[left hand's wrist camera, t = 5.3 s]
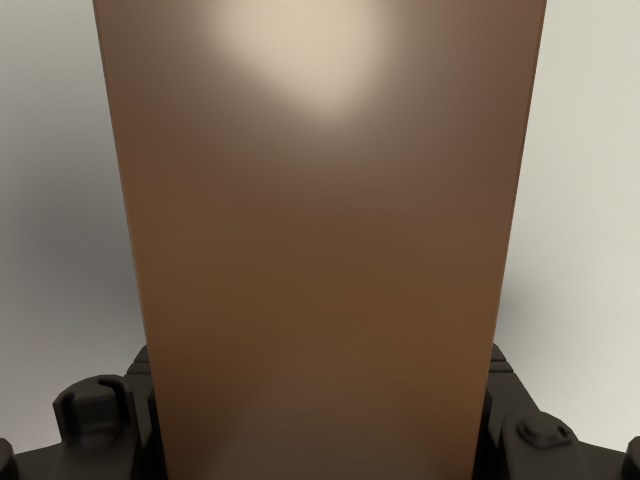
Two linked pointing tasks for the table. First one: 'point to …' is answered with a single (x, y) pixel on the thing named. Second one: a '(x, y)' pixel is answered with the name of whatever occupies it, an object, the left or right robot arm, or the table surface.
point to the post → (319, 224)
